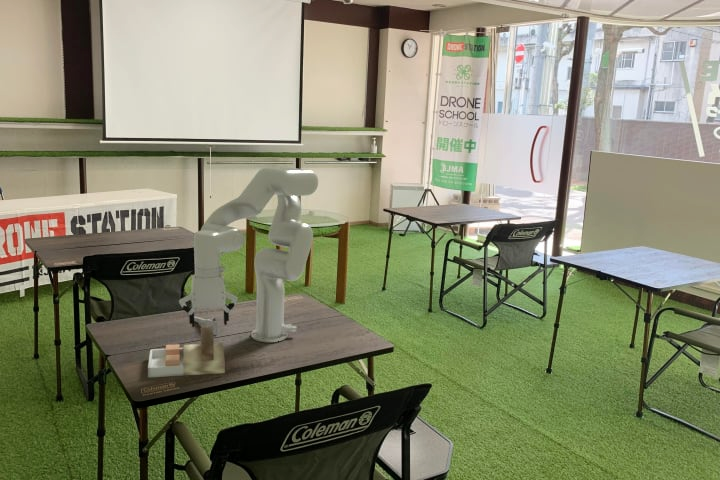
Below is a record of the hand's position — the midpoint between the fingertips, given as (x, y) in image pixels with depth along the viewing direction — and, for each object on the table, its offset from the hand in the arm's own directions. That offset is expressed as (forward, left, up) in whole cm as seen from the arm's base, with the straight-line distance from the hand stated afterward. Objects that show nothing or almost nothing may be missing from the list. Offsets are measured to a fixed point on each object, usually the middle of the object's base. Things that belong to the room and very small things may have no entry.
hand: (209, 324), depth 193 cm
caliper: (+1, -33, -13) cm, 35 cm away
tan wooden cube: (+9, +5, -10) cm, 14 cm away
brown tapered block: (+1, +1, -9) cm, 9 cm away
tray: (+13, +1, -13) cm, 18 cm away
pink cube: (+9, -4, -10) cm, 14 cm away
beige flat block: (+2, +1, -13) cm, 13 cm away
